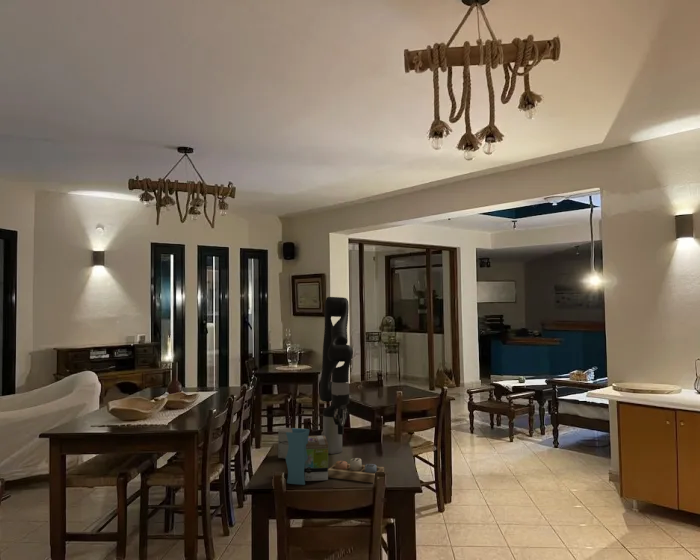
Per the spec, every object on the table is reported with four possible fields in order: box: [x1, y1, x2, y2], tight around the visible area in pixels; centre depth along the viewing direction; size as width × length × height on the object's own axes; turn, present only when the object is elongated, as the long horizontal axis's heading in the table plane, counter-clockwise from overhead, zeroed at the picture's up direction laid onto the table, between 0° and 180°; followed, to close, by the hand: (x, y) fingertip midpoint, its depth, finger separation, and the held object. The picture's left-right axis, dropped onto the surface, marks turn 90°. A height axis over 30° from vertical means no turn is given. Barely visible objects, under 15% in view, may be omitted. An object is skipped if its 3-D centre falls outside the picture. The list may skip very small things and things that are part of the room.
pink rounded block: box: [335, 460, 348, 470], centre depth 223 cm, size 5×5×4 cm
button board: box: [328, 462, 385, 484], centre depth 221 cm, size 21×11×3 cm, turn 69°
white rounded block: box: [349, 457, 363, 471], centre depth 221 cm, size 5×5×4 cm
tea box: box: [304, 435, 329, 482], centre depth 222 cm, size 15×10×15 cm
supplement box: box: [277, 427, 293, 460], centre depth 249 cm, size 7×7×13 cm
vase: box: [285, 427, 310, 486], centre depth 215 cm, size 8×8×20 cm
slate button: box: [364, 463, 377, 473], centre depth 218 cm, size 5×5×4 cm
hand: (340, 434), depth 224 cm, fingers closed
